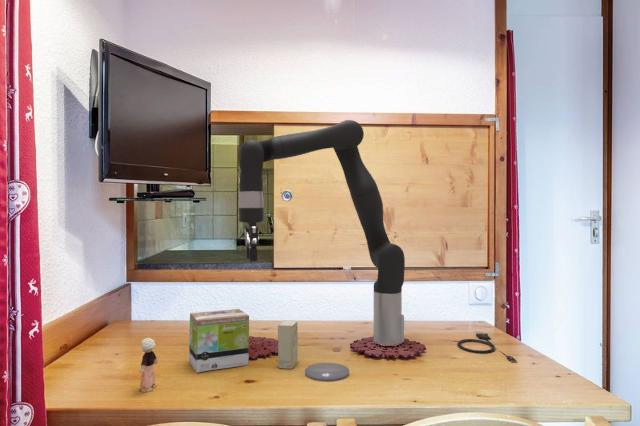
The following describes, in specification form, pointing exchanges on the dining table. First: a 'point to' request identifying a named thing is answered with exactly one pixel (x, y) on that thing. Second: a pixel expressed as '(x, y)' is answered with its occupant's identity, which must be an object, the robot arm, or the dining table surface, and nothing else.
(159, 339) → the dining table surface
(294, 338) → the skincare box
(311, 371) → the coaster
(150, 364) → the grandmother figurine
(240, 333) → the tea box
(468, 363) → the dining table surface
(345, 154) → the robot arm
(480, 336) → the cable
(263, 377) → the dining table surface
